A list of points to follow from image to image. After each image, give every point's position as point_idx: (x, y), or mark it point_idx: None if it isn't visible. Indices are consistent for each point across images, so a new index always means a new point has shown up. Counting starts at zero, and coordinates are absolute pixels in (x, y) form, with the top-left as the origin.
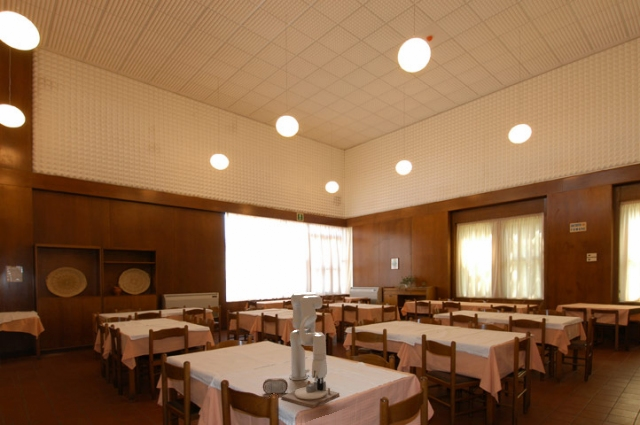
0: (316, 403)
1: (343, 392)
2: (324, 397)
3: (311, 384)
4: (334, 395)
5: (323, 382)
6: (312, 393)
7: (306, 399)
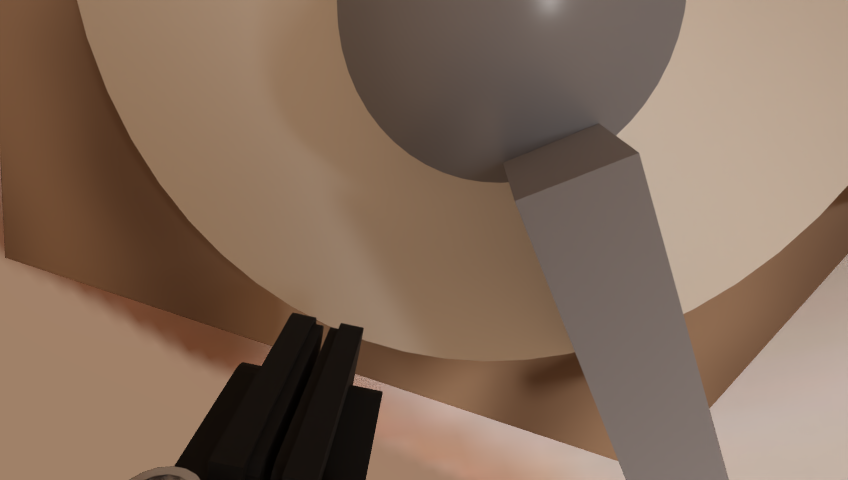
0: (96, 285)
1: (787, 462)
2: None
3: (663, 13)
4: (537, 431)
5: (623, 469)
6: (352, 131)
7: None
